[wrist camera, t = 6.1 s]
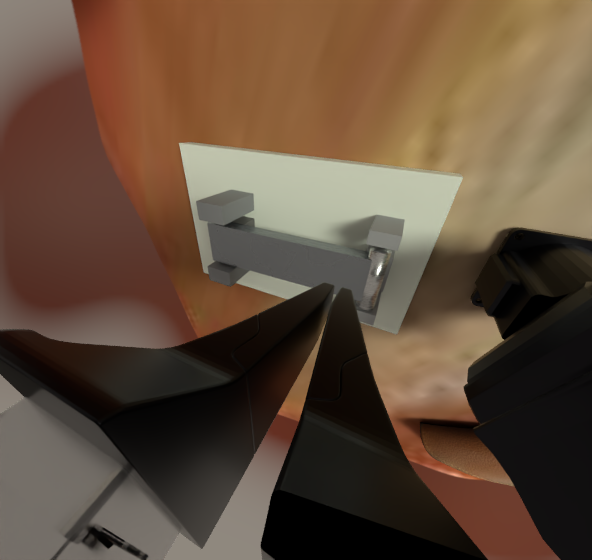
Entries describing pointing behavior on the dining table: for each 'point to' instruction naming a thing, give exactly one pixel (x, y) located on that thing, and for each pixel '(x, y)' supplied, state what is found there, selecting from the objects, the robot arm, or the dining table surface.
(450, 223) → the dining table surface
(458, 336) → the dining table surface
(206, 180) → the base
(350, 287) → the bar
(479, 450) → the sunglasses case
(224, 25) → the dining table surface
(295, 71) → the dining table surface
